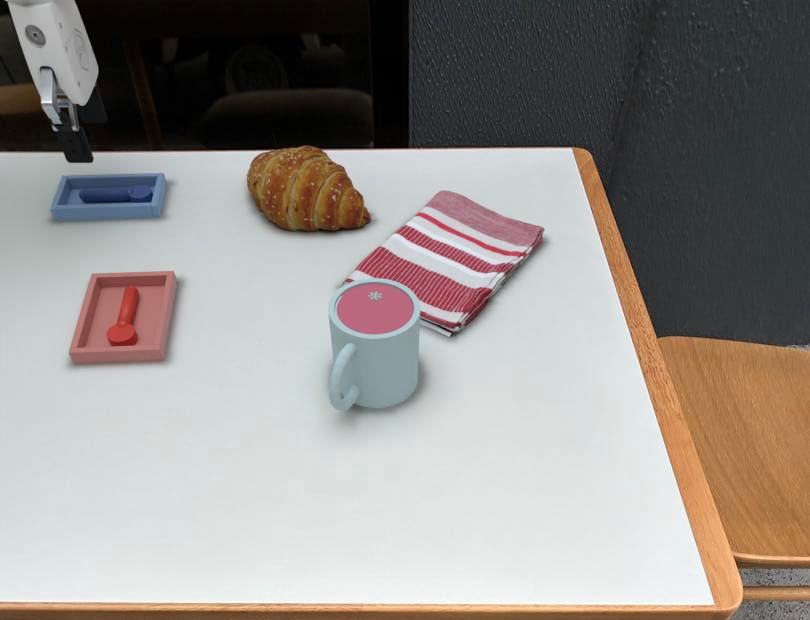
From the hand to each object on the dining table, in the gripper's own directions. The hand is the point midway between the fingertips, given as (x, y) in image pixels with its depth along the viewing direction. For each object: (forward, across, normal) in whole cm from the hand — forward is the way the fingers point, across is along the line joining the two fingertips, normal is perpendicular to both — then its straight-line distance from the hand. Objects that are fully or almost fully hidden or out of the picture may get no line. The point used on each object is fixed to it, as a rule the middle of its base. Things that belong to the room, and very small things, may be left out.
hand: (88, 141), depth 85 cm
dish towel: (+8, -16, -45) cm, 49 cm away
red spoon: (+8, -25, -6) cm, 27 cm away
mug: (+8, -38, -34) cm, 52 cm away
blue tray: (+9, 0, 0) cm, 9 cm away
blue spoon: (+8, 0, -2) cm, 8 cm away
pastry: (+8, -2, -26) cm, 28 cm away
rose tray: (+8, -25, -6) cm, 27 cm away
